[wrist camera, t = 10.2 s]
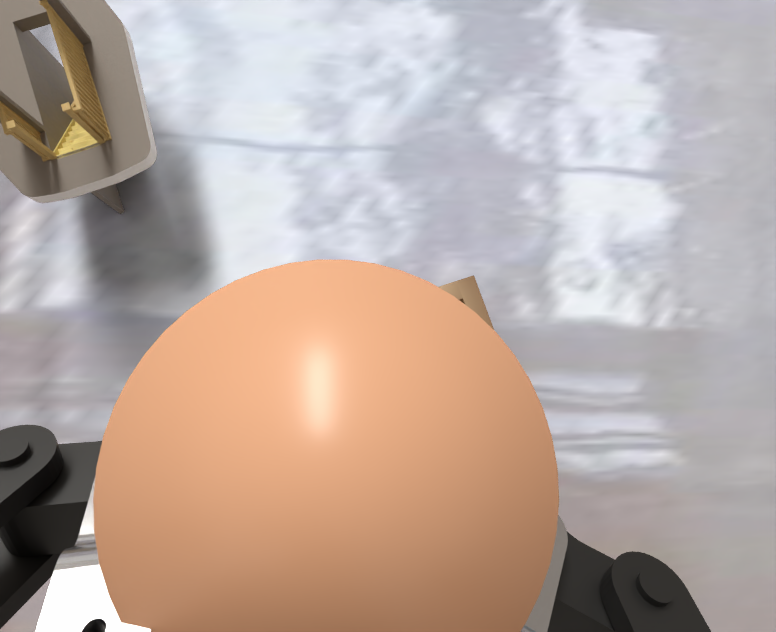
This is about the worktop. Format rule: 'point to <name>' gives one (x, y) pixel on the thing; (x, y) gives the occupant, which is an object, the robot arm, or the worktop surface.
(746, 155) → the worktop surface
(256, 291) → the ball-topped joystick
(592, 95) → the worktop surface
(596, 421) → the worktop surface
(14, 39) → the architectural model
